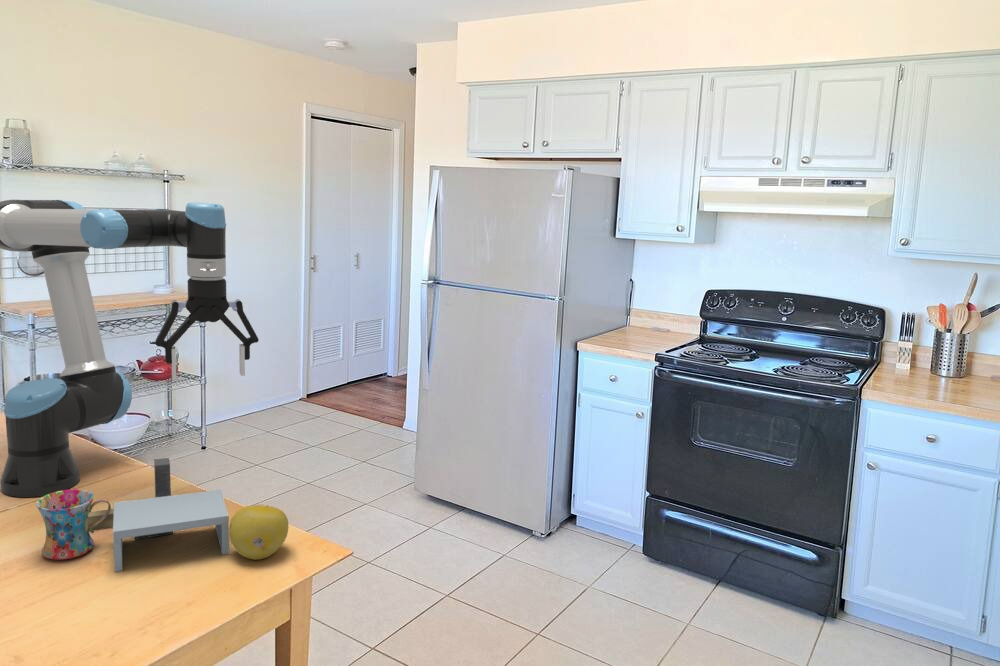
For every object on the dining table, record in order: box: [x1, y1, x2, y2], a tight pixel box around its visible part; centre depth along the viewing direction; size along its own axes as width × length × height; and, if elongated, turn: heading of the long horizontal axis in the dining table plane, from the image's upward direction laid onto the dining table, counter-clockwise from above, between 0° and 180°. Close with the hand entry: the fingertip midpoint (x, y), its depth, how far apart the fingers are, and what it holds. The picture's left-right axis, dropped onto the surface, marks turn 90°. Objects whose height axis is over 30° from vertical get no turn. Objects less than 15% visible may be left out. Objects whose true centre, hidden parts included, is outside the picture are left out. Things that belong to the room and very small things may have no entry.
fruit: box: [229, 503, 289, 561], centre depth 139 cm, size 10×11×10 cm
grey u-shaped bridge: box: [112, 489, 230, 573], centre depth 139 cm, size 13×19×8 cm
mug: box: [35, 488, 112, 561], centre depth 136 cm, size 12×9×11 cm
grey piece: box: [134, 457, 175, 540], centre depth 152 cm, size 19×7×9 cm, turn 27°
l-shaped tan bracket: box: [88, 508, 114, 531], centre depth 145 cm, size 10×3×7 cm, turn 117°
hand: (208, 376), depth 155 cm, fingers open, 13 cm apart
